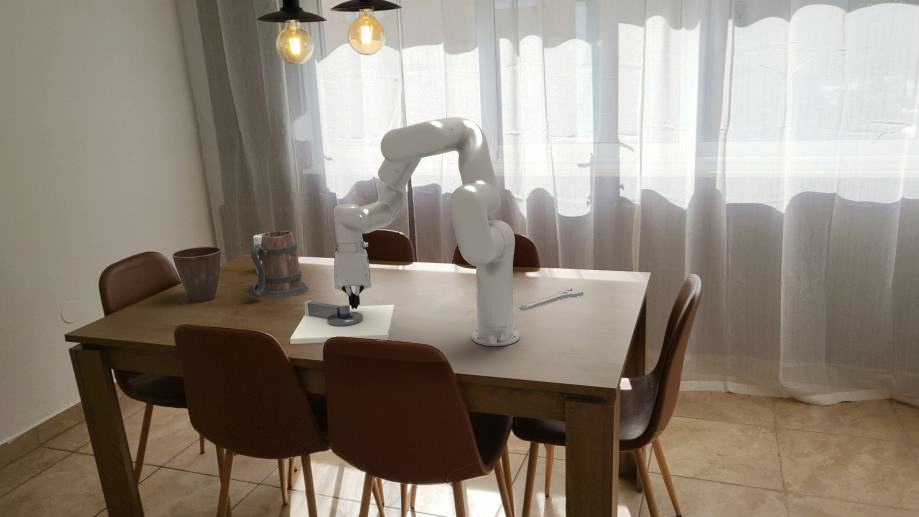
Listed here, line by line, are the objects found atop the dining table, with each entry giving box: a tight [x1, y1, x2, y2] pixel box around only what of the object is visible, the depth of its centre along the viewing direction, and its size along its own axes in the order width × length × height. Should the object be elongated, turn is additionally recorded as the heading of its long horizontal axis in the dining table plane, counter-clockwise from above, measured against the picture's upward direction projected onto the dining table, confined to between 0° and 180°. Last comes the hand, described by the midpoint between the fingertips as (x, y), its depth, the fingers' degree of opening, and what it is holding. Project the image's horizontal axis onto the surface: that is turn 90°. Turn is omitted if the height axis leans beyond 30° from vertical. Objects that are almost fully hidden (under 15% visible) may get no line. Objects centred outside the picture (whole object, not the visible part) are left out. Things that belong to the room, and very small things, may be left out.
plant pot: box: [171, 246, 222, 303], centre depth 230 cm, size 15×15×16 cm
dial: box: [303, 300, 363, 326], centre depth 202 cm, size 19×10×4 cm, turn 60°
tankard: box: [247, 230, 310, 300], centre depth 232 cm, size 24×17×20 cm
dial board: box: [289, 304, 396, 345], centre depth 203 cm, size 30×26×2 cm
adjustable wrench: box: [518, 287, 584, 311], centre depth 216 cm, size 25×6×2 cm, turn 123°
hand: (354, 307), depth 207 cm, fingers closed
